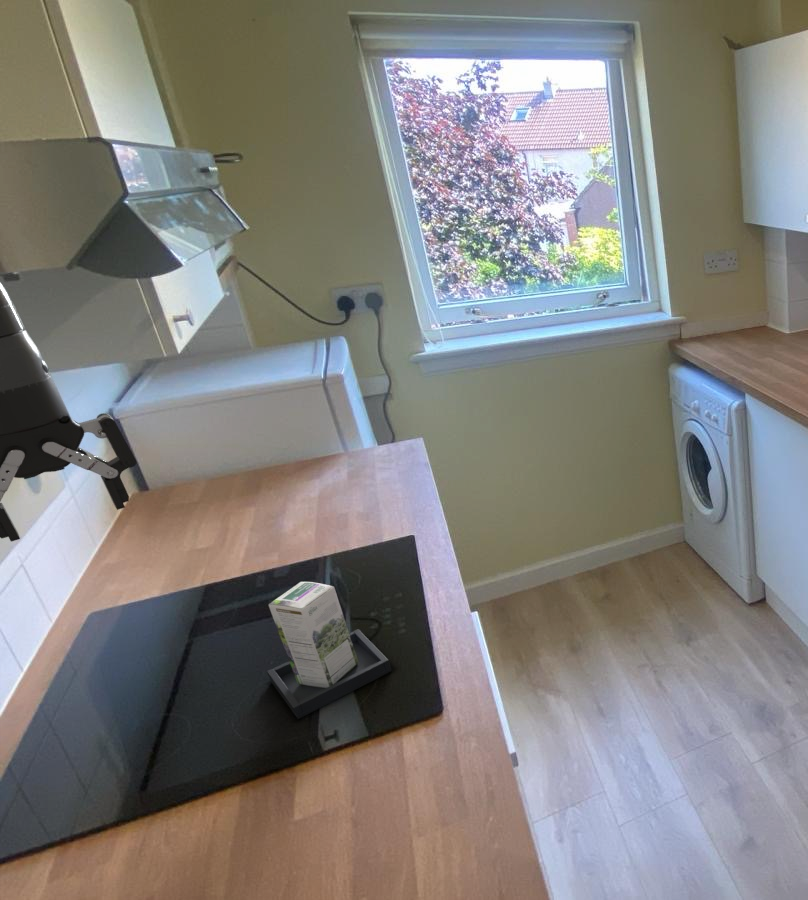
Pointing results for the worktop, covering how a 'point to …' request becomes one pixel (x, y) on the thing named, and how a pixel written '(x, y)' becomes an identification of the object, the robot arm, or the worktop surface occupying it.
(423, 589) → the worktop surface
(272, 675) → the tray
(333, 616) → the syrup box
